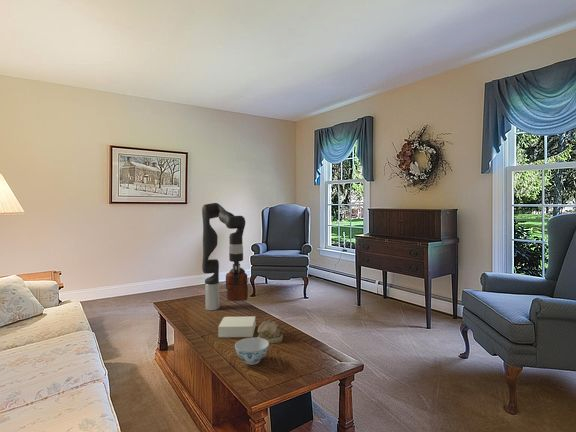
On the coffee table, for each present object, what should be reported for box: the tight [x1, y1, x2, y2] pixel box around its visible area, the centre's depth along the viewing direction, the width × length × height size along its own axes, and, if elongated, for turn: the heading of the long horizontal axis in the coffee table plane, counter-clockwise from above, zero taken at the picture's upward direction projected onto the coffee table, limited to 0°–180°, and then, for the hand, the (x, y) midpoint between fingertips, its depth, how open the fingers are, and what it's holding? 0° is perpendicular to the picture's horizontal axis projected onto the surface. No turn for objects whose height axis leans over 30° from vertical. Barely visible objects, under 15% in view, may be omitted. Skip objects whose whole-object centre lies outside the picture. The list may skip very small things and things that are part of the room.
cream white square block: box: [217, 315, 257, 338], centre depth 185 cm, size 16×18×6 cm
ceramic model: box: [256, 319, 284, 344], centre depth 174 cm, size 14×11×10 cm
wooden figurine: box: [225, 267, 249, 302], centre depth 185 cm, size 12×6×18 cm, turn 99°
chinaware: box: [234, 337, 270, 366], centre depth 149 cm, size 15×15×8 cm
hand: (236, 282), depth 185 cm, fingers closed on wooden figurine, 6 cm apart
